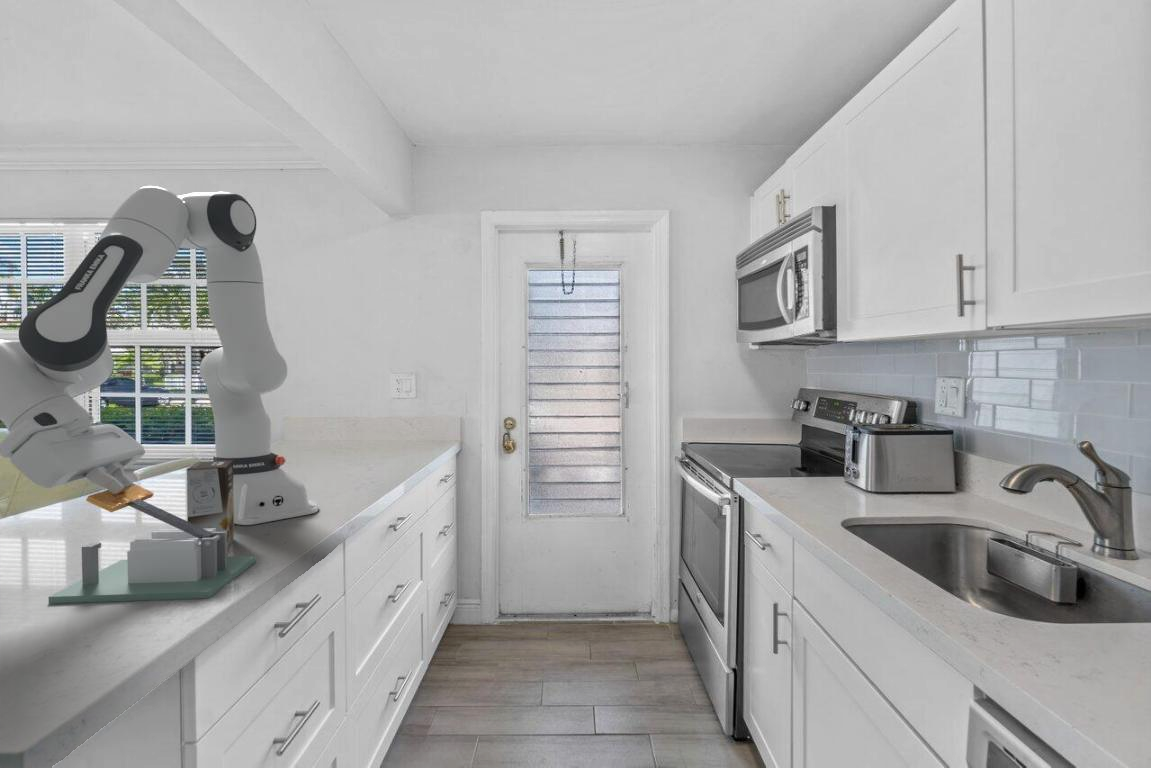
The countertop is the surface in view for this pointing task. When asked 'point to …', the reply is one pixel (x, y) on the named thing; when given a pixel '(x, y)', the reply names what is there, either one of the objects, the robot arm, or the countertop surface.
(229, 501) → the coffee box
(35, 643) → the countertop surface
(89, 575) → the heatsink board
